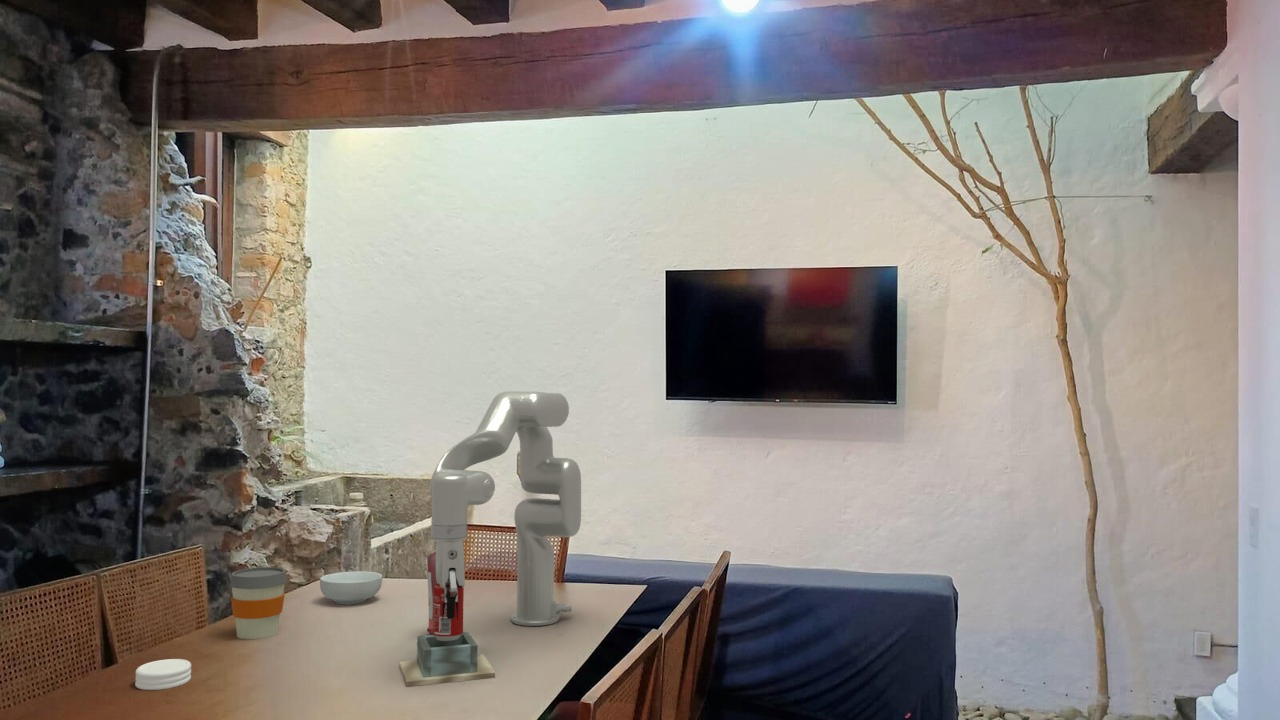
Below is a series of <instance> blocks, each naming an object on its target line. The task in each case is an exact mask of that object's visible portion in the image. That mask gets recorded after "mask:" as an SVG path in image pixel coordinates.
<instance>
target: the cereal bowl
mask: <svg viewBox="0 0 1280 720" xmlns="http://www.w3.org/2000/svg"><path fill="white" fill-rule="evenodd" d="M382 584H383V575H382V574H381V573H379V572H375V571H374V572H373V571H363V570H362V571H360V570H359V571H344V572H336V573H335V572H334V573H329V574H326V575H322V576H320V579H319V588H320V592H321V593H322V595H323V596H324V597H326V598H327V599H329V600H333V602H334V601H335V603H336V604H339V605H358V604H361V603H364V602H366V600H367V599H370V598H373V597H374V596H375V595H377V593H379V591H380V590H381V588H382Z"/></svg>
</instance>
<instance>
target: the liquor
mask: <svg viewBox="0 0 1280 720" xmlns="http://www.w3.org/2000/svg"><path fill="white" fill-rule="evenodd" d="M426 561H427V562H426V563H427V565H426V566H427V590H428V596H427V597H428V627H427V629H426V631H427V633H428V634H429V635H433V589H434V587H435V585H436V584H437V580H436V551H435V552H432V553H431V554H429V556H427V557H426Z"/></svg>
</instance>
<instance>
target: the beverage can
mask: <svg viewBox="0 0 1280 720" xmlns="http://www.w3.org/2000/svg"><path fill="white" fill-rule="evenodd" d="M457 582H458V581H457ZM446 587H450V585H446ZM464 589H465V586H464V587H463V588H461V587H460V586H459V585H458V583H457V591H458V620H457V610H456V603H455V616H454V618H452V619H448V618H447V603H445V610H444V617H443V621H442V605H443V603H444V589H443V588H442V587H440V584H439V582H438V581H437V584H436V585H435V587H434V589H433V635H434V636H435V637H436V639H437V640H440V641H452V640H456V639H459V637H460V636H461V635H462V634H463V632H464V603H465V602H464V601H465V600H464V598H465V597H464V596H465V595H464V594H465V593H464V591H465V590H464ZM448 592H450V591H449V590H447V593H448Z"/></svg>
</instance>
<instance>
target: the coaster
mask: <svg viewBox="0 0 1280 720" xmlns="http://www.w3.org/2000/svg"><path fill="white" fill-rule="evenodd" d="M191 673H192V663H191V661H189V660H187V659H183V658H170V659H169V658H168V659H159V660H155V661H150V662H146V663H144V664H142V665H139V666H138V667H137V669H136V670H135V682H134V684H135V687H136V688H138V689H139V690H143V691H158V690H160V691H161V690H167V689H173V688H176V687H180V686H182V685H185V684H187V683H188V682H189V681H190V680H191V678H192V676H191Z"/></svg>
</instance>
